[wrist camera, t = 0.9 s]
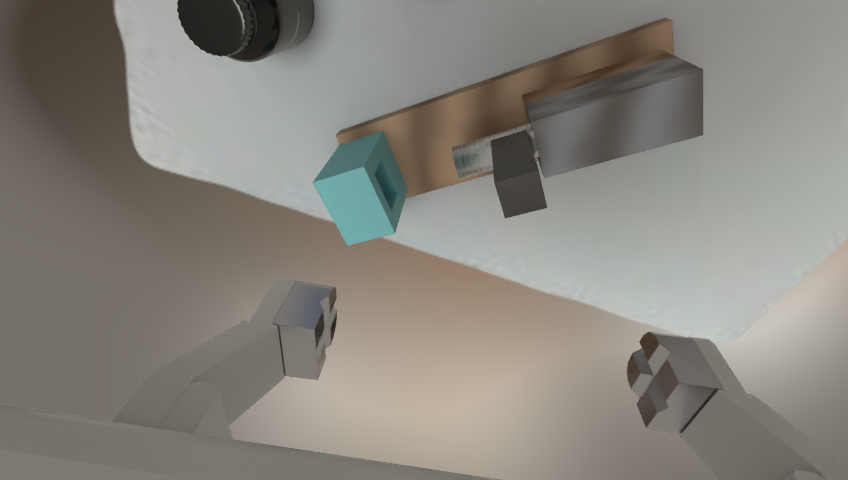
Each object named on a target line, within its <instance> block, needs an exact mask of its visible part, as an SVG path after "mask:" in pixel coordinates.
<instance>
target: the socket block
mask: <svg viewBox="0 0 848 480" xmlns="http://www.w3.org/2000/svg"><path fill="white" fill-rule="evenodd" d="M313 184H314V186H315V188H316V190H317V191H318V193H319V195H320V197H321V199H322V200H323V202H324V204H325V206H326V208H327V210H328V211H329V213H330V215H331V217H332V219H333V220H334V222H335V224H336V226H337V227H338V229H339V231H340V233H341V235H342V237H343V238H344V240H345V242H346V244H347V245H352V244H355V243H359V242H363V241H367V240H371V239H375V238H379V237H383V236H386V235H390V234H394V233H395V232H396V228H397V225H398V221H399V218H400V214H401V211H402V207H403V204H404V200H405V197H406V193H407V190H408V188H407V186H406V183H405V181H404V179H403V176H402V174H401V172H400V169H399V167H398V165H397V162H396V160H395V158H394V155H393V153H392V150H391V148H390V146H389V143H388V141H387V139H386V136H385V134H384V132H383V130H382V131H379V132H376V133H373V134H370V135H367V136H364V137H361V138H359V139H356V140H353V141H350V142H347V143H344V144H341V145H339V147H338V148H337V150H336V151H335V152H334V154H333V155H332V157H331V158H330V159H329V161H328V162H327V163H326V165H325V166H324V168H323V169H322V170H321V172H320V173H319V175H318V176H317V177H316V179H315V180H314V181H313Z"/></svg>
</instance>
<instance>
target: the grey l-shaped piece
mask: <svg viewBox="0 0 848 480" xmlns="http://www.w3.org/2000/svg"><path fill="white" fill-rule="evenodd" d="M452 156H453V160H454V164H455V168H456V171H457V173H458V176H459V177H460V179H463V178H467V177H470V176H474V175H477V174H481V173H484V172H488V171H491V170H493V172H494V182H495V186H496V189H497V193H498V196H499V199H500V203H501V206H502V209H503V213H504V216H505V218H508V217H512V216H516V215H520V214H524V213H528V212H532V211H536V210H540V209H544V208H547V205H546V200H545V196H544V192H543V188H542V183H541V179H540V175H539V170H538V167H537V164H536V161H535V158H537V157H539V155H538V150H537V146H536V141H535V137H534V132H533V128H532V125H531V123H528V124H525V125H522V126H518V127H515V128H512V129H509V130H506V131H502V132H499V133H496V134H493V135H489V136H486V137H483V138H480V139H476V140H473V141H470V142H467V143H463V144H460V145H457V146H454V147H452Z"/></svg>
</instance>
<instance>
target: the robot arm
mask: <svg viewBox="0 0 848 480" xmlns="http://www.w3.org/2000/svg"><path fill="white" fill-rule="evenodd" d="M336 298H337V297H336V288H335V287H333V286H327V285H321V284H315V283H309V282H304V281H295V280H289V279H283V278H278V279H277V280H275V281H274V283H273V284H272V286H271V288H270V290H269V291H268V293H267V294H266V296H265V297H264V299H263V301H262V302H261V304H260V305H259V307H258V309H257V310H256V312H255V313H254V315H253V317H252V318H251V320H250V321H242V322H240V323H239V324H237V325H235V326H233V327H231V328H229V329H228V330H226V331H224V332H222V333H220V334H219V335H217V336H215V337H213V338H211V339H210V340H208V341H206V342H204V343H202V344H201V345H199V346H197V347H195V348H193V349H191V350H190V351H188V352H186V353H184V354H182V355H181V356H179V357H177V358H175V359H173V360H171V361H170V362H168V363H166V364H164V365H162V366H161V367H159V368H157V369H155V370H154V371H152V372H150V373H149V374H148V376H147V377H146V378H145V380H144V381H143V382H142V383H141V385H140V386H139V387H138V388H137V390H136V391H135V392H134V394H133V395H132V396H131V397H130V399H129V400H128V401H127V402H126V404H125V405H124V406H123V407H122V409H121V410H120V411H119V413H118V414H117V415H116V416H115V417H114V419H113V420H112V421H107V420H101V419H94V418H87V417H81V416H74V415H67V414H61V413H54V412H48V411H41V410H34V409H28V408H21V407H14V406H8V405H1V404H0V480H498V479H492V478H485V477H479V476H472V475H465V474H459V473H452V472H445V471H439V470H432V469H426V468H419V467H413V466H405V465H399V464H393V463H386V462H379V461H373V460H366V459H359V458H353V457H346V456H340V455H333V454H326V453H320V452H313V451H306V450H300V449H293V448H286V447H280V446H273V445H266V444H260V443H253V442H246V441H240V440H233V438H232V434H231V431H230V427H229V425H230V424H231V423H232V422H233V421H235V420H236V419H237V418H238V417H239V416H240V415H241V414H243V413H244V412H245V411H246V410H247V409H249V408H250V407H251V406H252V405H253V404H255V403H256V402H257V401H258V400H259V399H260V398H262V397H263V396H264V395H265V394H266V393H267V392H269V391H270V390H271V389H272V388H273V387H274V386H276V385H277V384H278V383H279V382H280V381H281V380H282V379H284V376H290V377H299V378H307V379H316V380H318V378H319V375H320V373H321V370H322V367H323V364H324V362H325V359H326V355H325V349H326V348H327V347H329V346H330V345H331V342H332V340H333V337H334V332H335V328H336V321H337V310H336V309H335V308H334V303H335V301H336ZM640 345H641V347H642V348H641V349H640V350H638V351H636V352H634V353H632V355H631V357H630V359H629V361H628V366H627V378H628V382H629V385H630V388H631V390H633V391H634V392H635V393H636V394H637V395H638V396H639V397H640V398H639V401H638V403H637V406H638V409H639V411H640V414H641V417H642V419H643V422H644V424H645V427H646V428H648V429H653V430H659V431H665V432H670V433H676V434H681V435H680V437H681V438H682V439H683V440H684V441H685V442H686V443H687V444H688V446H689V447H690V448H691V449H692V450H693V451H694V452H695V453H696V454H697V456H698V457H699V458H700V459H701V460H702V461H703V462H704V463H705V465H706V466H707V467H708V468H709V469H710V470H711V471H712V472H713V474H714V475H715V476H716V477H717V478H718V479H719V480H848V465H846V464H845V463H843V462H842V461H841V460H840V459H838V458H837V457H836V456H834V455H833V454H832V453H830V452H829V451H828V450H826V449H825V448H823V447H822V446H821V445H820V444H818V443H817V442H816V441H814V440H813V439H812V438H810V437H809V436H808V435H806V434H805V433H804V432H802V431H801V430H800V429H798V428H797V427H795V426H794V425H793V424H792V423H790V422H789V421H788V420H786V419H785V418H784V417H782V416H781V415H779V414H778V413H777V412H776V411H774V410H773V409H772V408H770V407H769V406H768V405H766V404H765V403H764V402H762V401H761V400H760V399H758V398H757V397H756V396H754V395H752V394H747V393H746V392H745V390H744V389H743V387H742V386H741V384H740V383H739V381H738V379H737V378H736V376H735V375H734V373H733V372H732V370H731V369H730V368H729V366H728V364H727V362H726V361H725V359H724V358H723V357H722V355H721V353H720V352H719V350H718V349H717V347H716V346H715V344H714V343H713V342H711V341H710V340H709V339H701V338H693V337H684V336H677V335H669V334H662V333H655V332H647V333H646V334H644V335H643V337H642V338H641V340H640Z"/></svg>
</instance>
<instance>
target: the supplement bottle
mask: <svg viewBox="0 0 848 480" xmlns="http://www.w3.org/2000/svg"><path fill="white" fill-rule="evenodd" d="M177 4H178V9H177V11H178V13H179V19H180V21H181V25H182V27H183V28H184V31H185V33H186V34H187V35H188V36H189V39H190V40H192V41H193V42H194V44H195V45H197V46H198V47H199V48H200V49H201V50H204V51H205V52H207V53H211V54H212V55H218V56H227V57H229V58H231V59H234V60H237V61H241V62H254V61H259V60H262V59H264V58H267V57H269V56H271V55H274V54H276V53H278V52H281V51H283V50H285V49H288V48H290V47H292V46H294V45H296V44H298V43H299V42H301V41H302V40H303V39H304V38H305V37H306V35H307V34H308V32H309V30H310V28H311V25H312V20H313V6H312V1H311V0H178V2H177Z"/></svg>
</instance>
